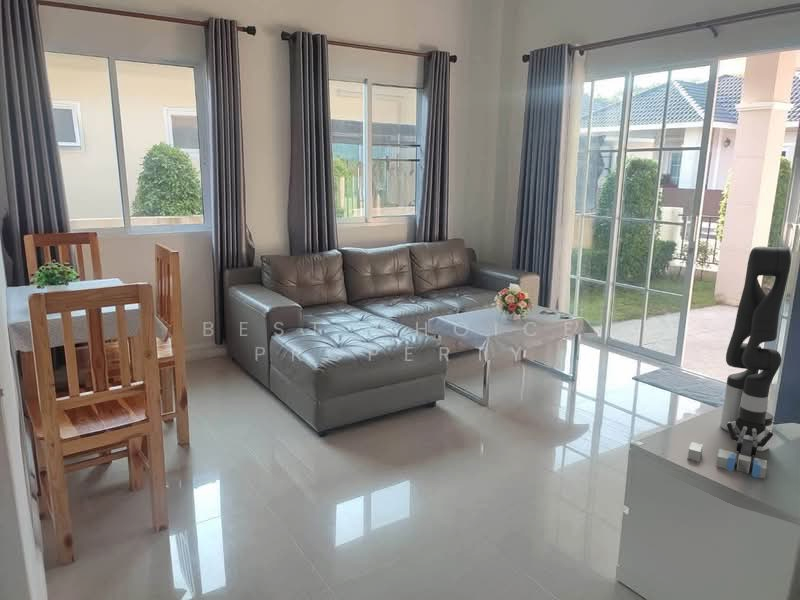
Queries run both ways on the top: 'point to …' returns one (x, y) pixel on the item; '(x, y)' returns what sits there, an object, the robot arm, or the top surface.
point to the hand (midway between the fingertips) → (745, 453)
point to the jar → (769, 426)
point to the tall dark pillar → (745, 456)
